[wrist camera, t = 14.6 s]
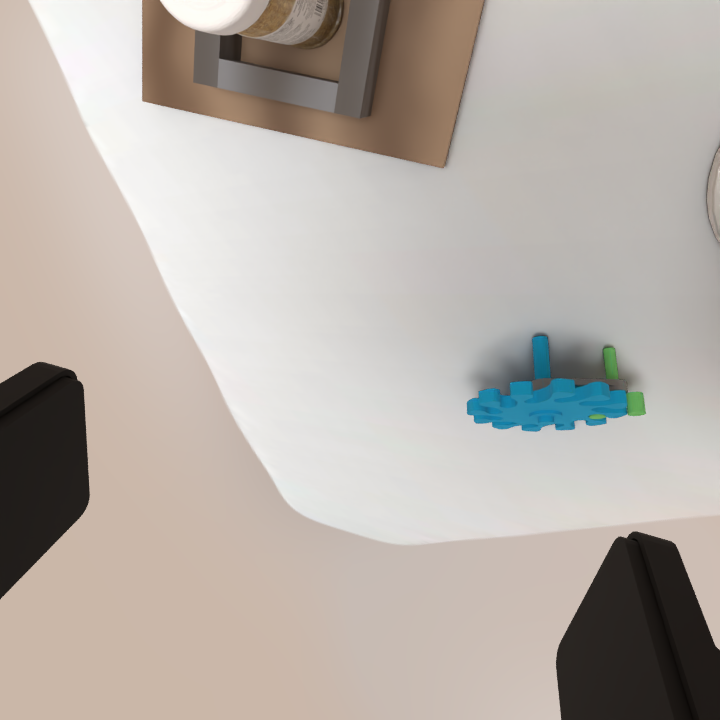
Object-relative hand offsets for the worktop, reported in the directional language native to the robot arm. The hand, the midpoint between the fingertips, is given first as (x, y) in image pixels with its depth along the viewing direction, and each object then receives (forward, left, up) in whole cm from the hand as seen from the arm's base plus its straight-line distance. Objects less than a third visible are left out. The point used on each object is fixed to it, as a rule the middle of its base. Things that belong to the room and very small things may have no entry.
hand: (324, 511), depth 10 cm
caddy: (+11, -9, -30) cm, 33 cm away
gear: (-10, +11, -31) cm, 34 cm away
